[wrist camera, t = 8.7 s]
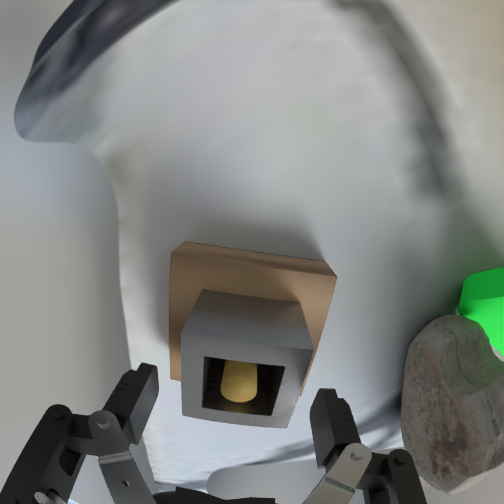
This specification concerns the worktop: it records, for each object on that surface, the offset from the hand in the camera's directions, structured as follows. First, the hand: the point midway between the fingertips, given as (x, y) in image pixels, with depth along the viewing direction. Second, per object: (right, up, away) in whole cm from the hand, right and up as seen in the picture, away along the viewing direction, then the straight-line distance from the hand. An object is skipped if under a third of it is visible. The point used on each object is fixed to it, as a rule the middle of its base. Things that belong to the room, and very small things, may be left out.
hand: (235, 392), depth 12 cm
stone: (+19, -6, +10) cm, 23 cm away
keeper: (0, +2, +8) cm, 8 cm away
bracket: (+29, +3, +8) cm, 30 cm away
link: (0, +1, +5) cm, 5 cm away
